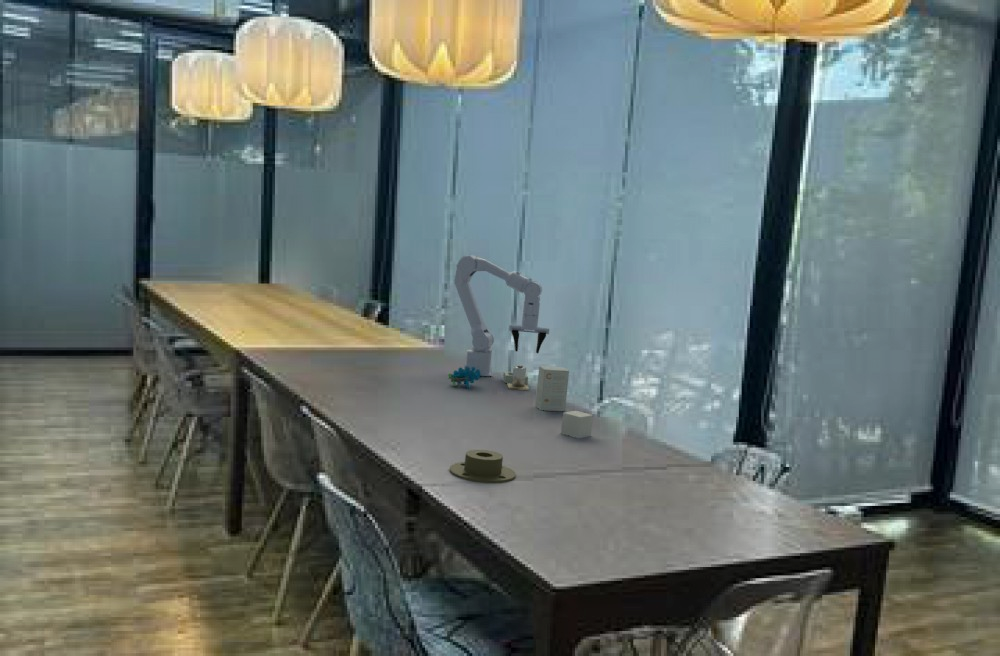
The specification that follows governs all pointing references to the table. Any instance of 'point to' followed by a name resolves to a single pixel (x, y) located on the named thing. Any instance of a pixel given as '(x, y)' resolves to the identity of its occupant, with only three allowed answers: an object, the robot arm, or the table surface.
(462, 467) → the flange
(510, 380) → the housing
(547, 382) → the small box
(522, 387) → the coaster
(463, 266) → the robot arm
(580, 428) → the light grey cube
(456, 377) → the toy stegosaurus
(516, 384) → the grey cylinder
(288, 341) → the table surface
